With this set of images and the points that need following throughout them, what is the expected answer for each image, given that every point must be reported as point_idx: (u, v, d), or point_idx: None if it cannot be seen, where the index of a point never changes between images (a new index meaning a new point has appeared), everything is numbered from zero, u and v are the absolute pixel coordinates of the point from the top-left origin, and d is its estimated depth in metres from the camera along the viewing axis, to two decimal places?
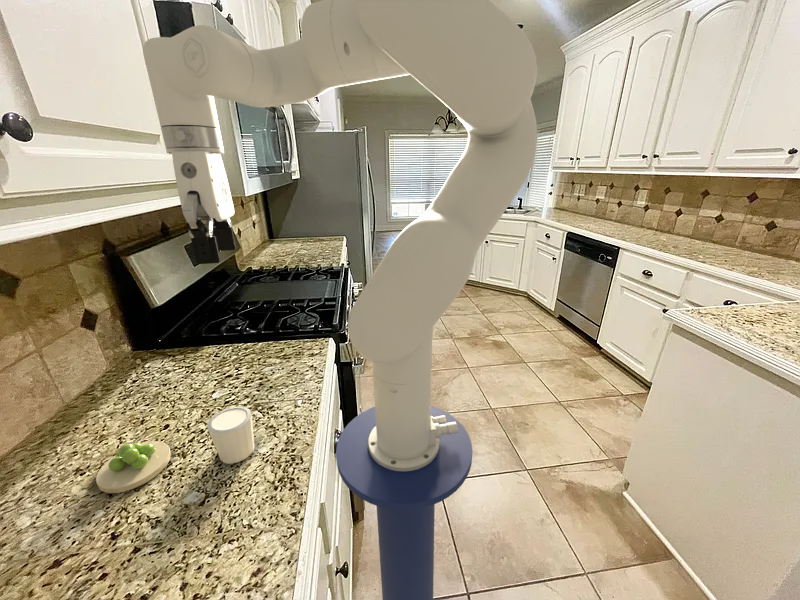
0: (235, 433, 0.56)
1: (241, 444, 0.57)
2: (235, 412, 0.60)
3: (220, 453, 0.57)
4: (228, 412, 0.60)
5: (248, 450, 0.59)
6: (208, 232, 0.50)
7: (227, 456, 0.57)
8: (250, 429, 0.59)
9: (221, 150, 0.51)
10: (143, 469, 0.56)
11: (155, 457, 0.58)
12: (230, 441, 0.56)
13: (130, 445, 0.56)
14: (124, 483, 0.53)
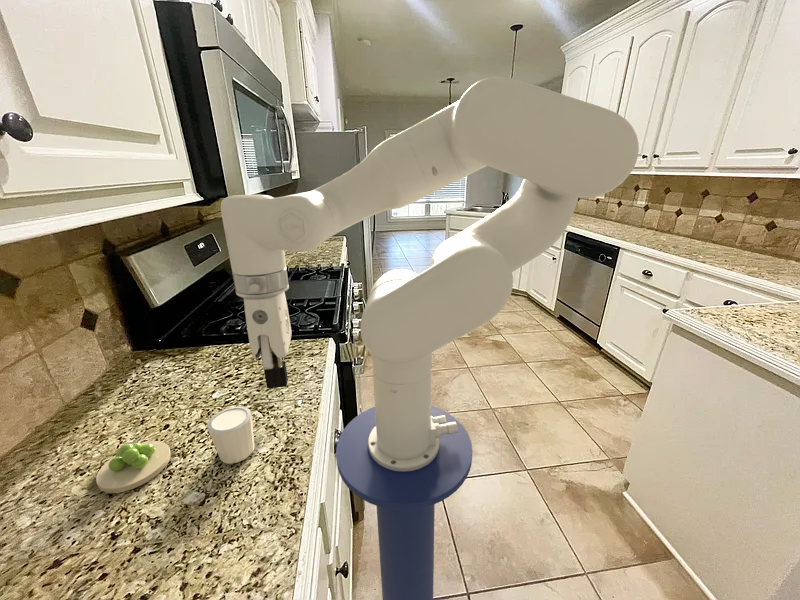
0: (235, 433, 0.56)
1: (241, 444, 0.57)
2: (235, 412, 0.60)
3: (220, 453, 0.57)
4: (228, 412, 0.60)
5: (248, 450, 0.59)
6: (281, 367, 0.55)
7: (227, 456, 0.57)
8: (250, 429, 0.59)
9: (287, 287, 0.52)
10: (143, 469, 0.56)
11: (155, 457, 0.58)
12: (230, 441, 0.56)
13: (130, 445, 0.56)
14: (124, 483, 0.53)
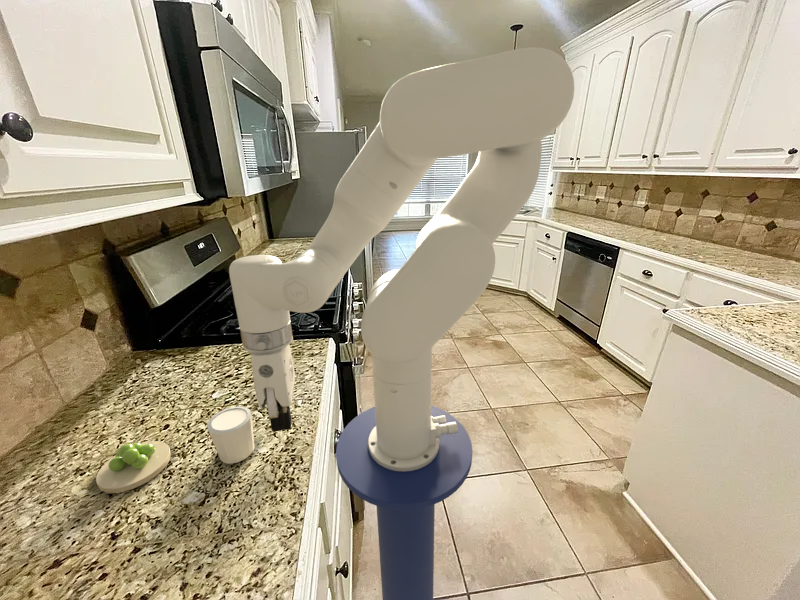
0: (235, 433, 0.56)
1: (241, 444, 0.57)
2: (235, 412, 0.60)
3: (220, 453, 0.57)
4: (228, 412, 0.60)
5: (248, 450, 0.59)
6: (285, 412, 0.58)
7: (227, 456, 0.57)
8: (250, 429, 0.59)
9: (291, 339, 0.55)
10: (143, 469, 0.56)
11: (155, 457, 0.58)
12: (230, 441, 0.56)
13: (130, 445, 0.56)
14: (124, 483, 0.53)
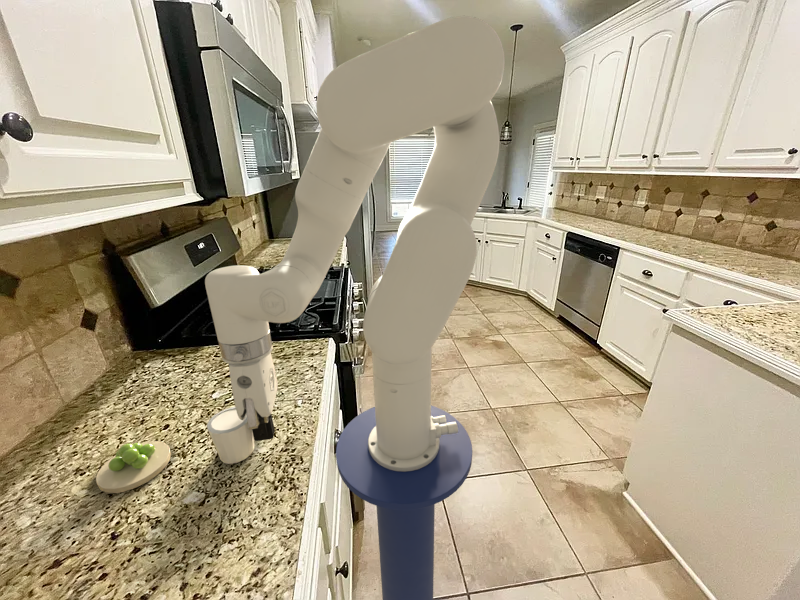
0: (235, 433, 0.56)
1: (241, 444, 0.57)
2: (235, 412, 0.60)
3: (220, 453, 0.57)
4: (228, 412, 0.60)
5: (248, 450, 0.59)
6: (266, 422, 0.58)
7: (227, 457, 0.57)
8: (250, 429, 0.59)
9: (271, 349, 0.55)
10: (143, 469, 0.56)
11: (155, 457, 0.58)
12: (230, 441, 0.56)
13: (130, 445, 0.56)
14: (124, 483, 0.53)
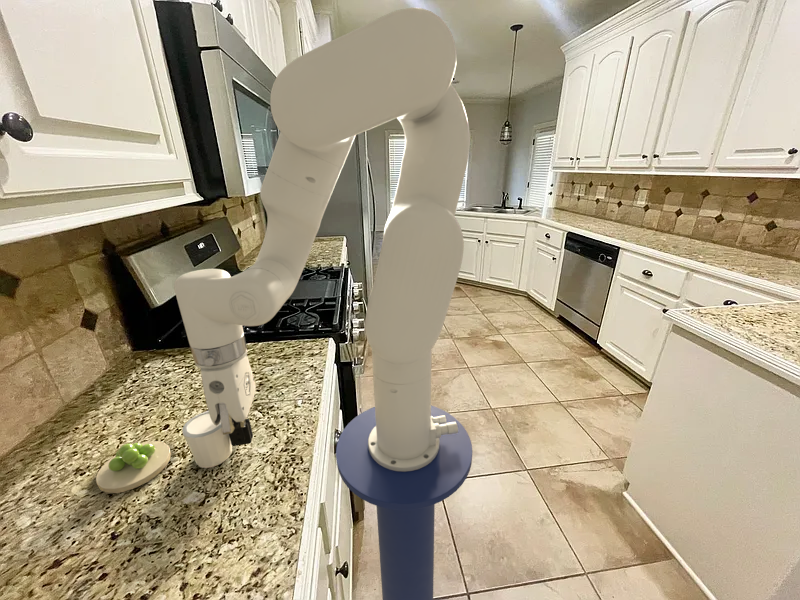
0: (210, 437, 0.55)
1: (217, 448, 0.57)
2: None
3: (196, 457, 0.56)
4: (205, 416, 0.59)
5: (225, 454, 0.58)
6: (243, 427, 0.57)
7: (202, 461, 0.56)
8: None
9: (245, 353, 0.54)
10: (143, 469, 0.56)
11: (155, 457, 0.58)
12: (205, 445, 0.55)
13: (130, 445, 0.56)
14: (124, 483, 0.53)
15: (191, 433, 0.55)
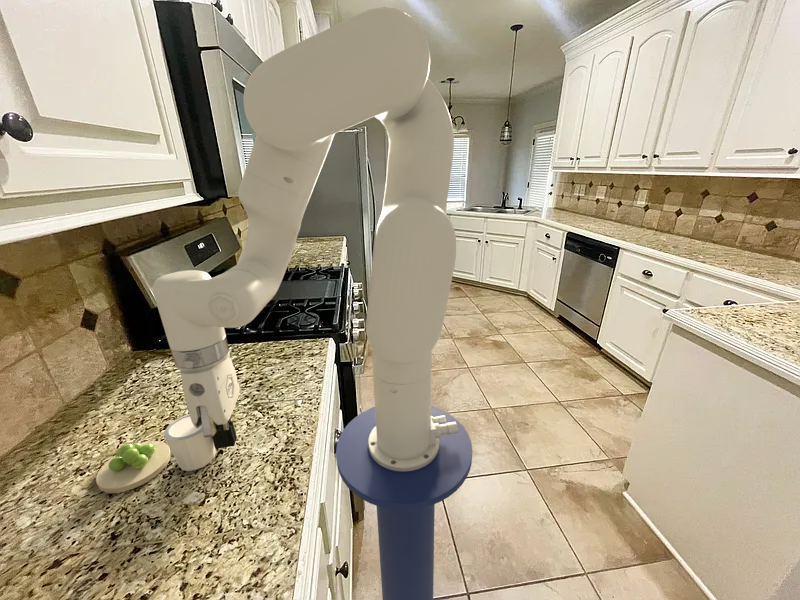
0: (192, 440, 0.55)
1: (199, 451, 0.56)
2: None
3: (178, 460, 0.56)
4: (188, 418, 0.59)
5: (208, 457, 0.58)
6: (226, 429, 0.57)
7: (185, 464, 0.56)
8: None
9: (227, 355, 0.54)
10: (143, 469, 0.56)
11: (155, 457, 0.58)
12: (187, 448, 0.55)
13: (130, 445, 0.56)
14: (124, 483, 0.53)
15: (173, 436, 0.55)
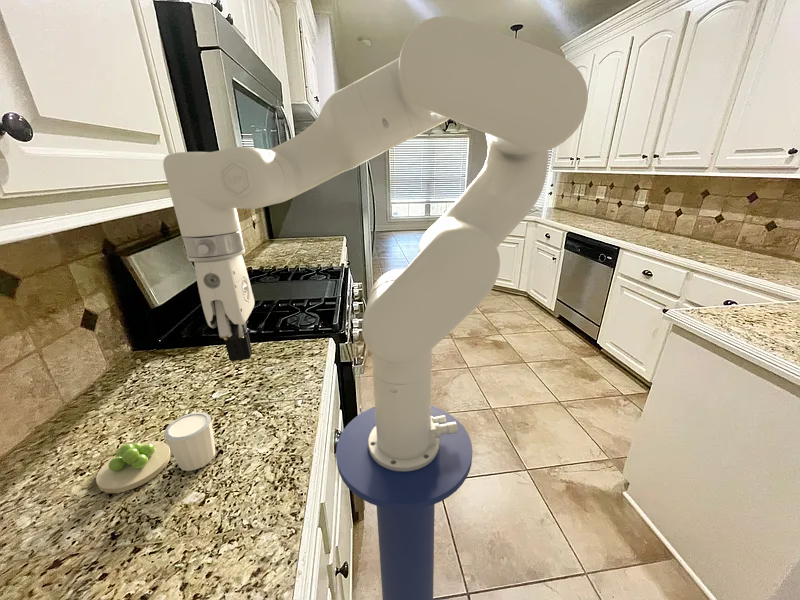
0: (192, 440, 0.55)
1: (199, 451, 0.56)
2: (195, 418, 0.59)
3: (178, 460, 0.56)
4: (187, 418, 0.59)
5: (207, 457, 0.58)
6: (241, 337, 0.53)
7: (184, 464, 0.56)
8: (209, 435, 0.57)
9: (243, 251, 0.50)
10: (143, 469, 0.56)
11: (155, 457, 0.58)
12: (187, 448, 0.55)
13: (130, 445, 0.56)
14: (124, 483, 0.53)
15: (173, 436, 0.55)
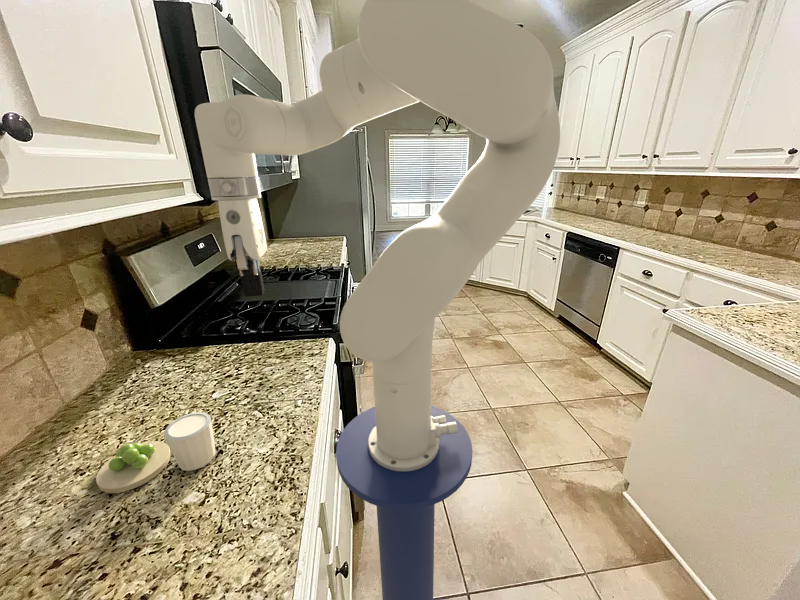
0: (192, 440, 0.55)
1: (199, 451, 0.56)
2: (195, 418, 0.59)
3: (178, 460, 0.56)
4: (187, 418, 0.59)
5: (207, 457, 0.58)
6: (256, 274, 0.60)
7: (184, 464, 0.56)
8: (209, 435, 0.57)
9: (259, 196, 0.57)
10: (143, 469, 0.56)
11: (155, 457, 0.58)
12: (187, 448, 0.55)
13: (130, 445, 0.56)
14: (124, 483, 0.53)
15: (173, 436, 0.55)
